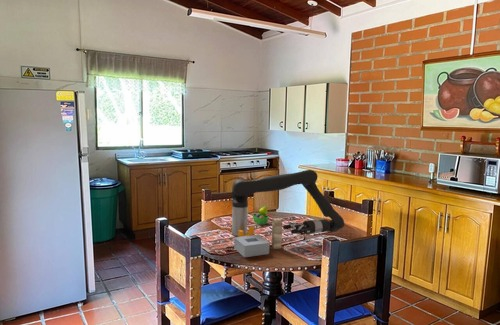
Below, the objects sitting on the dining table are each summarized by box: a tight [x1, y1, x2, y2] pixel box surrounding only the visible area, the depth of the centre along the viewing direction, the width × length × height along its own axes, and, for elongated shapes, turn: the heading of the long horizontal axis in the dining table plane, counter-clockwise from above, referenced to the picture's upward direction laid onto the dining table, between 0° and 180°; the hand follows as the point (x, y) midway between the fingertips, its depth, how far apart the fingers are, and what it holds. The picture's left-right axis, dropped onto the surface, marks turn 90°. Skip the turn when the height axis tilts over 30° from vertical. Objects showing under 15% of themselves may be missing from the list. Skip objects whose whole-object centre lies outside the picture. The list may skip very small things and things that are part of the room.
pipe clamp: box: [237, 225, 255, 237], centre depth 207 cm, size 12×4×6 cm, turn 143°
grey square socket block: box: [233, 234, 270, 258], centre depth 188 cm, size 14×14×6 cm
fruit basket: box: [252, 205, 269, 226], centre depth 242 cm, size 11×9×11 cm
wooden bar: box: [271, 217, 283, 250], centre depth 194 cm, size 3×4×16 cm
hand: (287, 229), depth 196 cm, fingers open, 8 cm apart
